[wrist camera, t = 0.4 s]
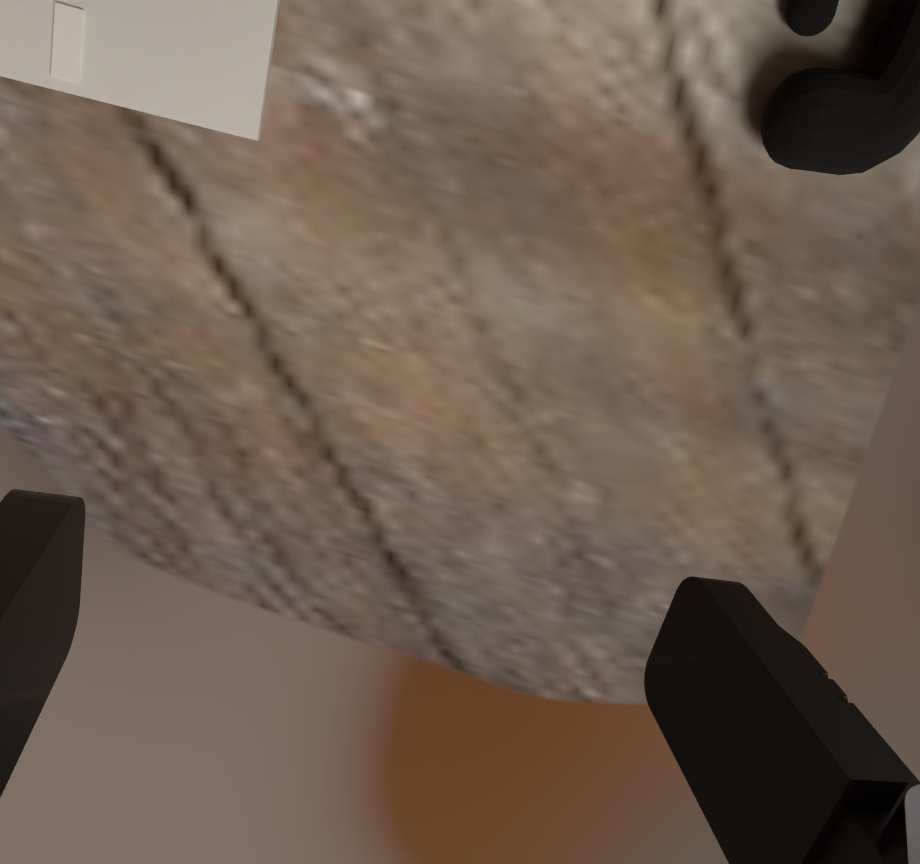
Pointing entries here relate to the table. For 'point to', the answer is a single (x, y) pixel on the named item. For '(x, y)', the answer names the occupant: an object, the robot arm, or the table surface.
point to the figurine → (847, 98)
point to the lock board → (148, 55)
